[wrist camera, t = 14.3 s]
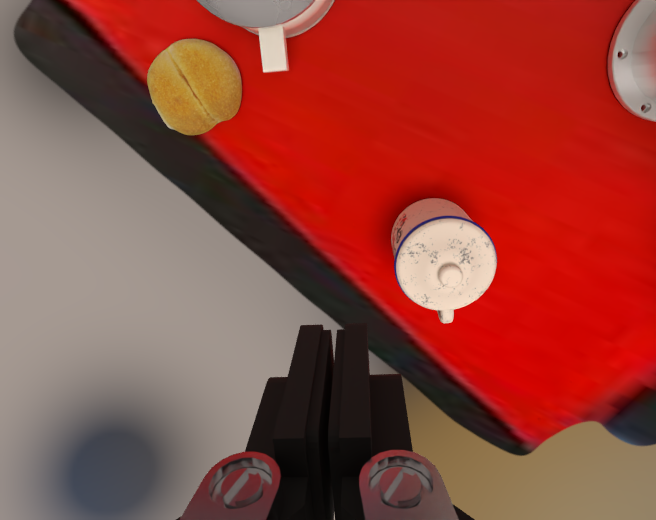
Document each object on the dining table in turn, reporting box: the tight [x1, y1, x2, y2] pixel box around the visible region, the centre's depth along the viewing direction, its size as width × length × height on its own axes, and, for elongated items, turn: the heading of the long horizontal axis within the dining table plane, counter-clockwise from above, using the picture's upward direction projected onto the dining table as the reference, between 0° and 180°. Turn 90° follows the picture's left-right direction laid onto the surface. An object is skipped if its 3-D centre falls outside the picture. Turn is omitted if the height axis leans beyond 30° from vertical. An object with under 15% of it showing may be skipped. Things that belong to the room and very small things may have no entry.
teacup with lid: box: [391, 198, 497, 323], centre depth 43 cm, size 12×9×12 cm
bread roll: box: [147, 39, 242, 135], centre depth 43 cm, size 8×9×4 cm
